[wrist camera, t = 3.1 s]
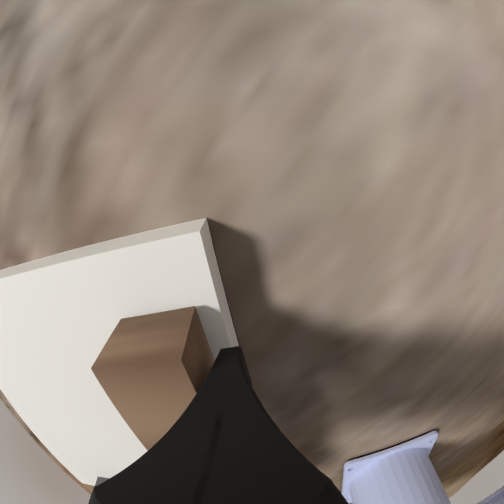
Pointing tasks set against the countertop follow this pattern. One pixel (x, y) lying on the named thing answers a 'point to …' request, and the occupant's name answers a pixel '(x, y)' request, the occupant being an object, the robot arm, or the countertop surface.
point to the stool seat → (98, 334)
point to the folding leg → (154, 369)
